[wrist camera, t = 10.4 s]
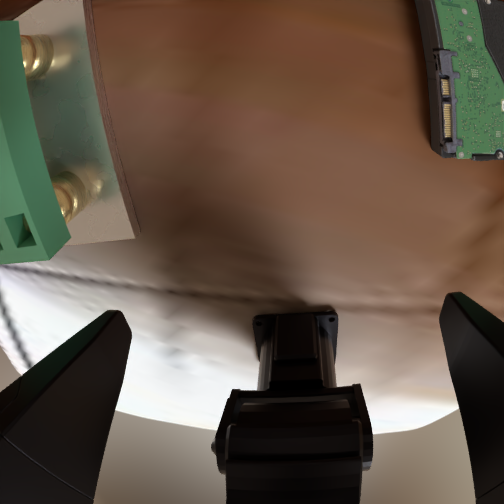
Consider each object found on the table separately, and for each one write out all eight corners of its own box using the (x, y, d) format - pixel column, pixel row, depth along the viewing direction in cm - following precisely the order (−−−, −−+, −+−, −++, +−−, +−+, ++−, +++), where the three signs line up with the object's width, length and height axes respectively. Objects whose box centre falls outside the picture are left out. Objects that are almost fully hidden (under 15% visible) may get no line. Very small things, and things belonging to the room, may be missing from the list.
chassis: (140, 231, 21) (105, 278, 16) (29, 244, 23) (-8, 281, 18) (89, -19, 12) (34, -32, 7) (-22, 53, 14) (-72, 64, 9)
